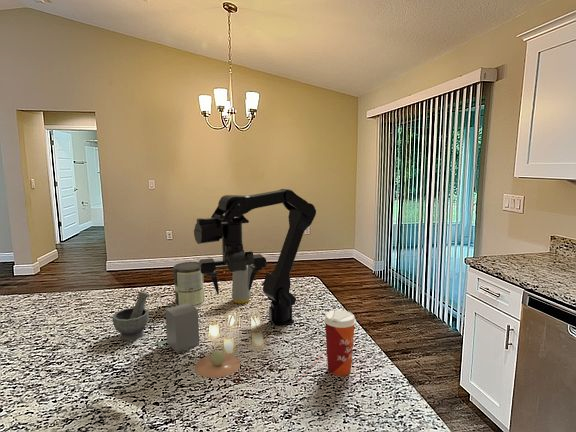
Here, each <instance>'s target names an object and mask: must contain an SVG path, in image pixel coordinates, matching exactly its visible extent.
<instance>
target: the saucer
mask: <svg viewBox="0 0 576 432" xmlns="http://www.w3.org/2000/svg"><path fill="white" fill-rule="evenodd" d="M240 366H241V360H240V358H239V357H238V356H237V355H233V354H230V353H225V352H223V351H222V350H220V349H216V350H214V351H212V353H211V354H210V355H207V356H204V357H202V358H201V359H199V360H198V361H197V362H196V363H195V364H194V370H195V373H196V374H198V375H199V376H201V377H204V378H209V379H210V378H211V379H213V378H214V379H216V378H224V377H227V376H229V375H232V374H234V373H235V372H237V371H238V370H239V369H240Z"/></svg>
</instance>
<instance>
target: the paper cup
mask: <svg viewBox="0 0 576 432" xmlns="http://www.w3.org/2000/svg"><path fill="white" fill-rule="evenodd" d="M323 322H324V323H325V343H326V361H327V371H328V372H329V374H331V375H333V376H337V377H344V376H348V375H349V374H350V373H351V371H352V362H353V352H354V351H353V350H354V337H355V327H356V323H357V319H356V318H355V315H354V314H353V313H352V312H350V311H348V310H342V309H341V310H339V309H335V310H329V311H328V312H327V313H325V316H324V318H323Z"/></svg>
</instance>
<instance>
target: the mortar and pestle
mask: <svg viewBox="0 0 576 432" xmlns="http://www.w3.org/2000/svg"><path fill="white" fill-rule="evenodd" d="M148 297H149V294H148V293H147V292H144V291H140V292H138V296H137V300H136V301H135V305H134V307H129V308H128V307H127V308H124V309H121V310H119V311H117V312H115V313H114V314H113V316H112V324H113V327H114V328H115V330H116V331H117V332H118V333H120V339H121V340H122V341H125V342H126V341H127V342H131V341H136V340H139V339H140V338H142V337H144V333H145V332H144V329H145V328H146V326H147V324H148V322H149V319H150V318H149V317H150V310H148V308H146V307H145V305H146V301H147V298H148Z"/></svg>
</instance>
